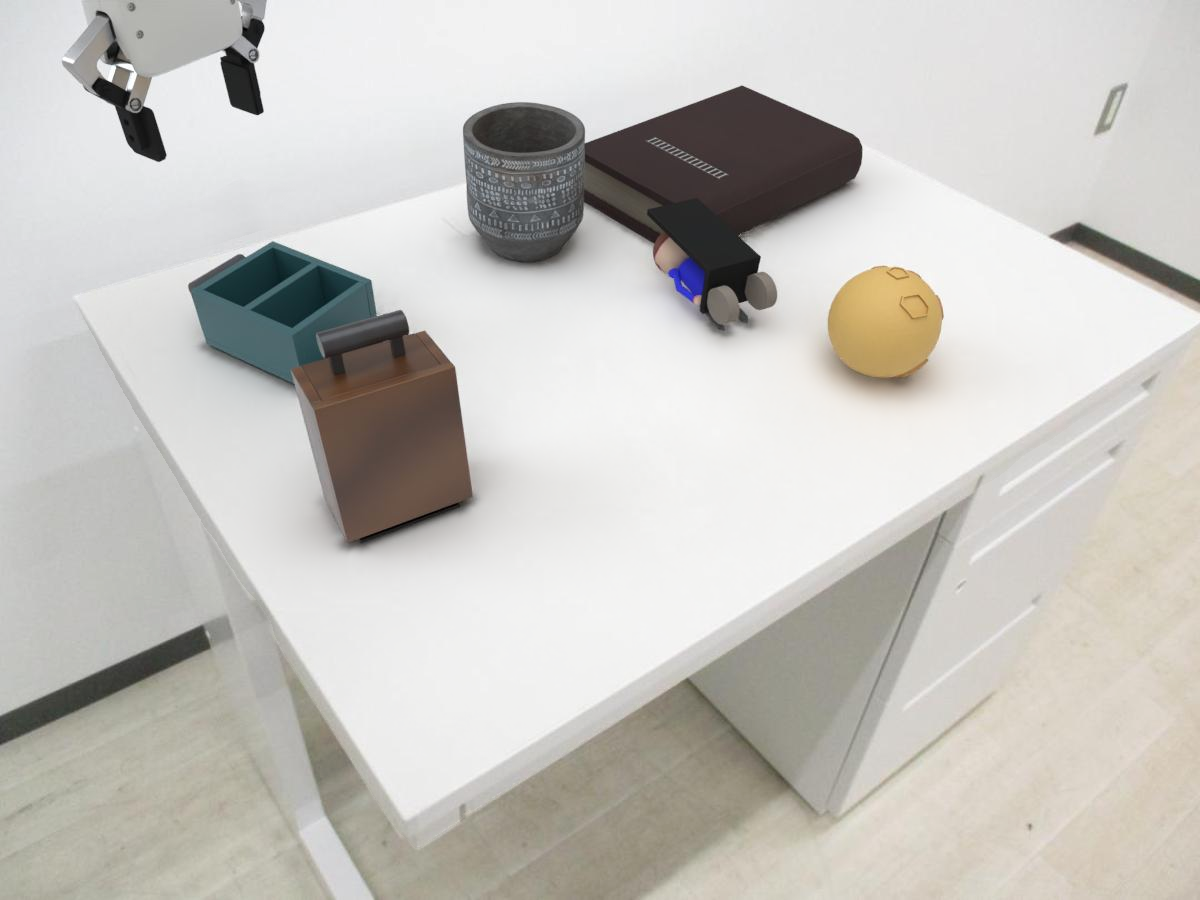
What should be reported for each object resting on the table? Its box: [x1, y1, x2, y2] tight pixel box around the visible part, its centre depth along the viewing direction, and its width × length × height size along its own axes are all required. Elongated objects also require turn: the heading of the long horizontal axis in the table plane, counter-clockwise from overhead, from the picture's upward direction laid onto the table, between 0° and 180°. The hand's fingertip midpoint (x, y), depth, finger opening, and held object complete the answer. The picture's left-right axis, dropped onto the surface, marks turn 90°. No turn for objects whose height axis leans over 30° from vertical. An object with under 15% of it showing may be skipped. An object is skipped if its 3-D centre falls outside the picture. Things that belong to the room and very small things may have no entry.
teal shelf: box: [187, 240, 378, 385], centre depth 87 cm, size 15×10×6 cm, turn 60°
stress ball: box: [827, 265, 945, 379], centre depth 85 cm, size 10×10×10 cm
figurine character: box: [647, 198, 778, 331], centre depth 93 cm, size 7×8×15 cm
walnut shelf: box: [291, 309, 474, 543], centre depth 69 cm, size 15×10×6 cm
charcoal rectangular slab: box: [358, 502, 461, 544], centre depth 74 cm, size 6×8×1 cm
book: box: [584, 85, 863, 245], centre depth 110 cm, size 28×20×6 cm
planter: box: [462, 101, 586, 263], centre depth 98 cm, size 12×12×13 cm
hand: (201, 132), depth 75 cm, fingers open, 9 cm apart
